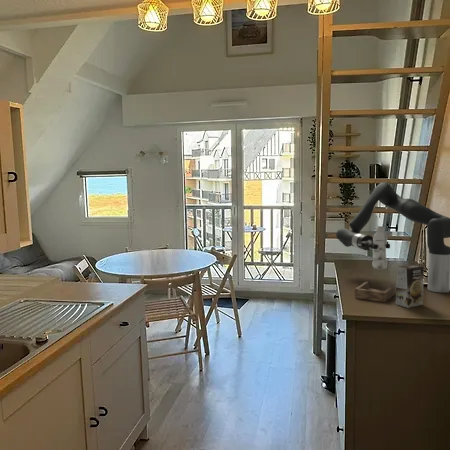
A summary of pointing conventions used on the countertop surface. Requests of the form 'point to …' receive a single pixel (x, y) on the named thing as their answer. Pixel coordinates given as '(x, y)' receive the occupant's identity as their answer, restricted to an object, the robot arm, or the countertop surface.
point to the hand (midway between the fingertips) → (383, 246)
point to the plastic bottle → (380, 248)
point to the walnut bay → (374, 293)
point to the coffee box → (409, 285)
